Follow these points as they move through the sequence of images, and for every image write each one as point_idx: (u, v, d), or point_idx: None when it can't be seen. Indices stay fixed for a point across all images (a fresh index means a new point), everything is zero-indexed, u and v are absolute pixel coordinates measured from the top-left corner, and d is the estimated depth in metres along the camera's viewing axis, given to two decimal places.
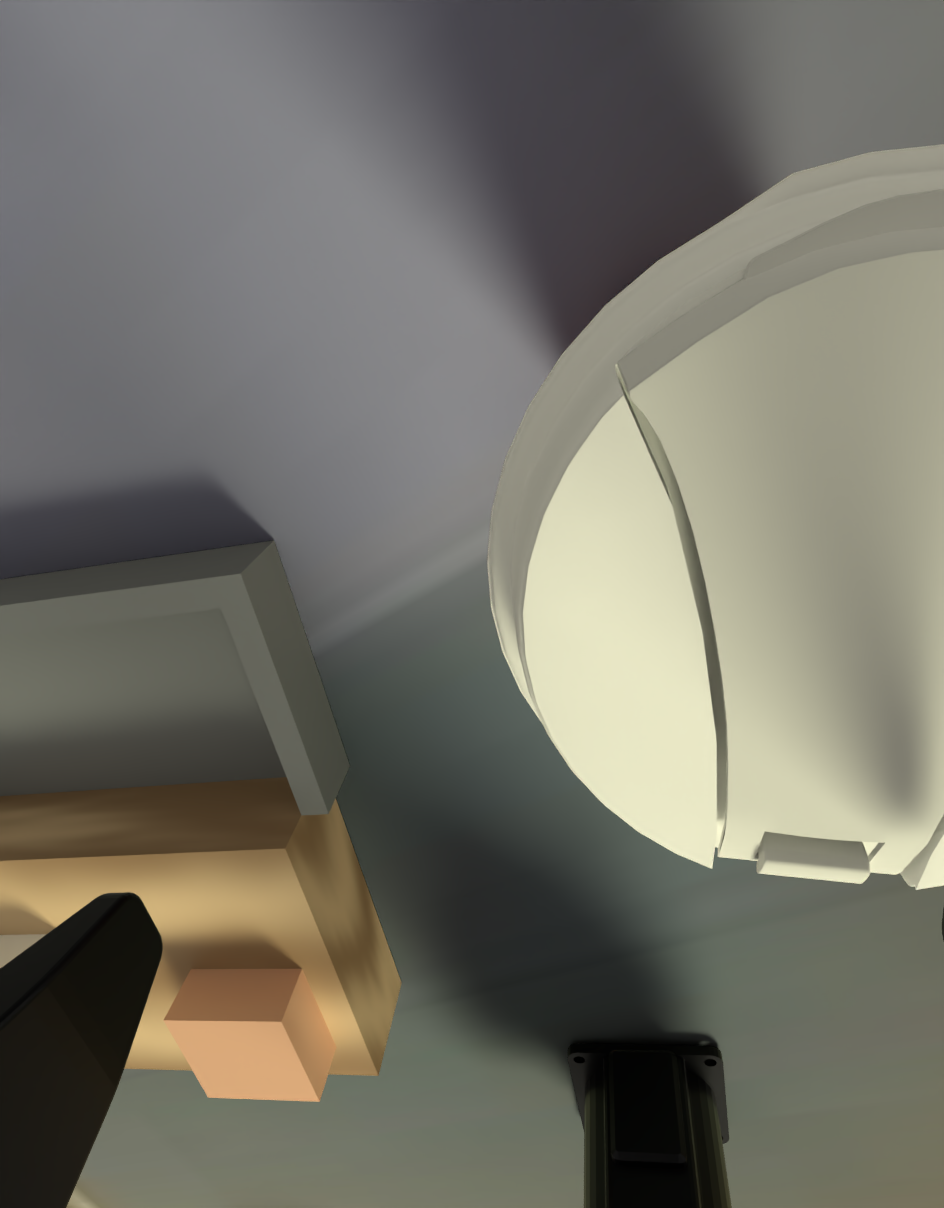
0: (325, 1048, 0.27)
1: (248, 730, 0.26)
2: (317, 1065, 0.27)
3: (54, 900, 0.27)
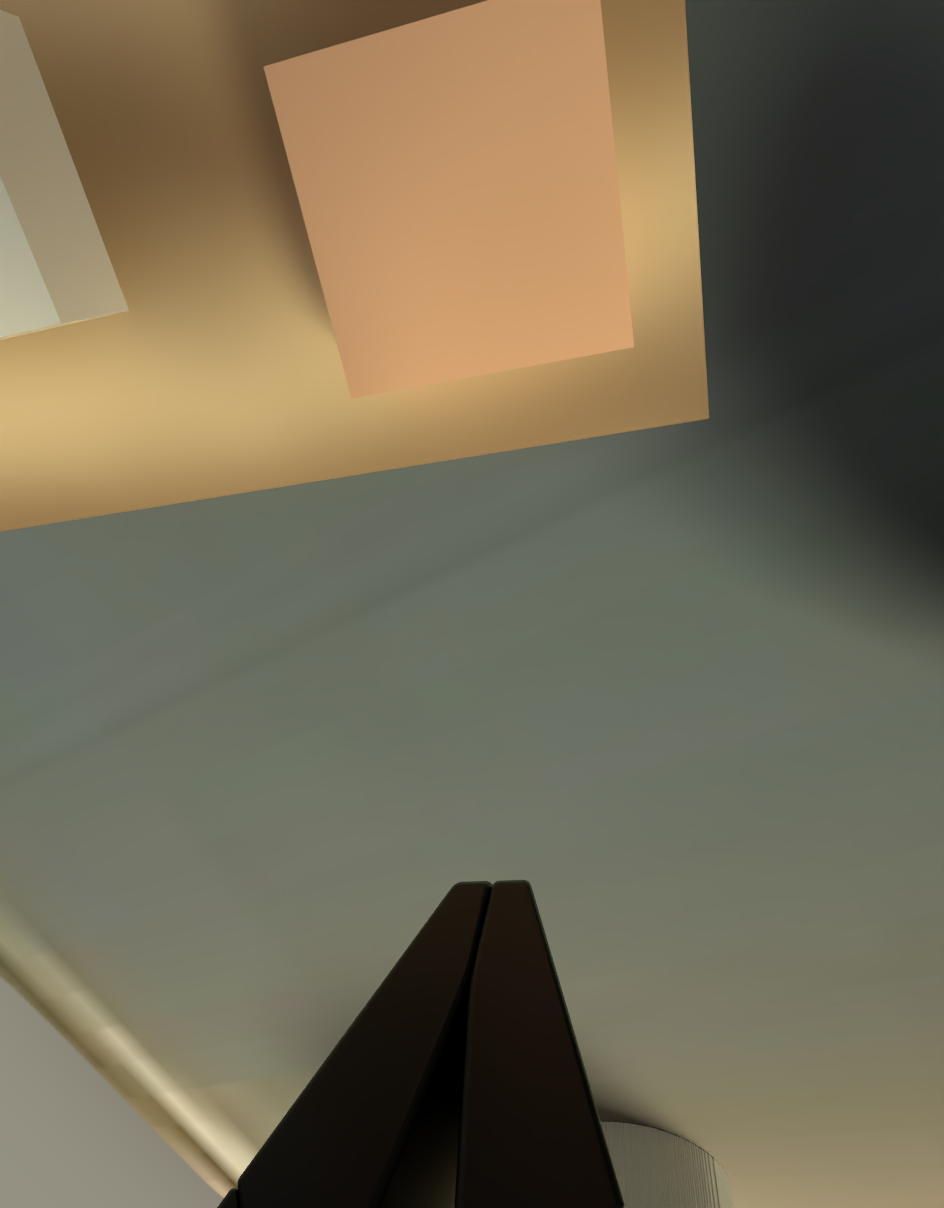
0: None
1: None
2: None
3: None
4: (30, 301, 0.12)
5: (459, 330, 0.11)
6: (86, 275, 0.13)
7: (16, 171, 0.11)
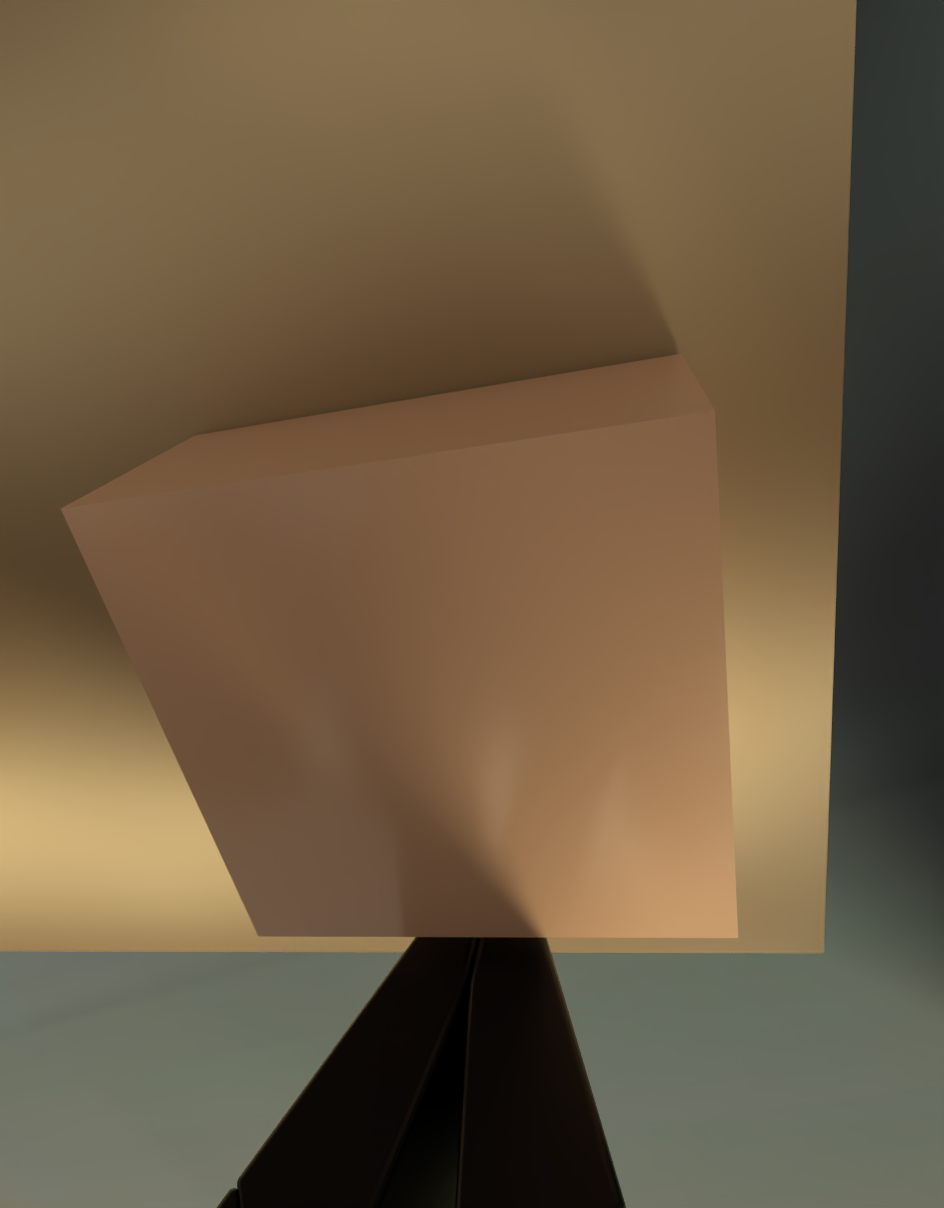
0: None
1: None
2: None
3: None
4: None
5: (433, 882, 0.06)
6: None
7: None
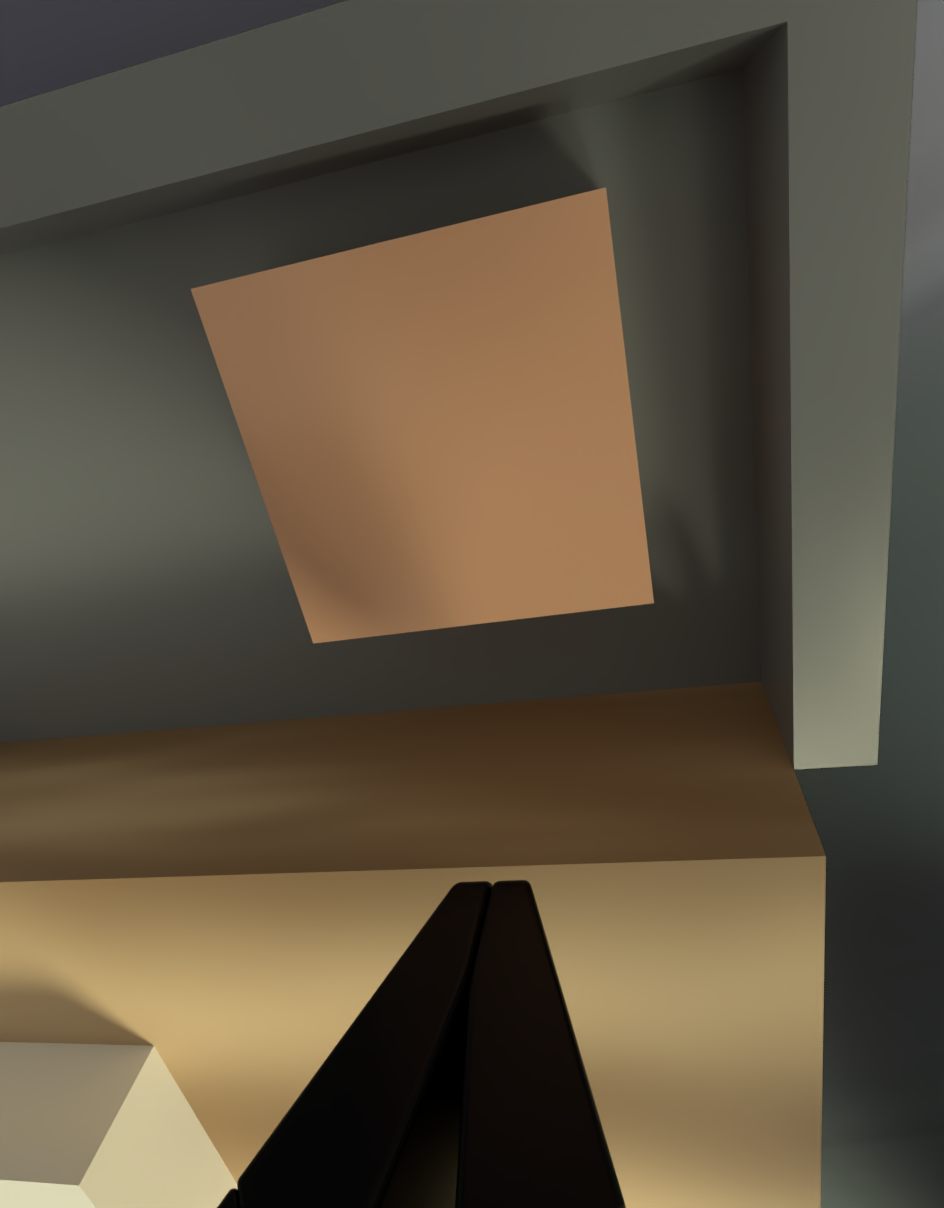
0: None
1: None
2: None
3: (136, 975, 0.11)
4: None
5: None
6: None
7: None
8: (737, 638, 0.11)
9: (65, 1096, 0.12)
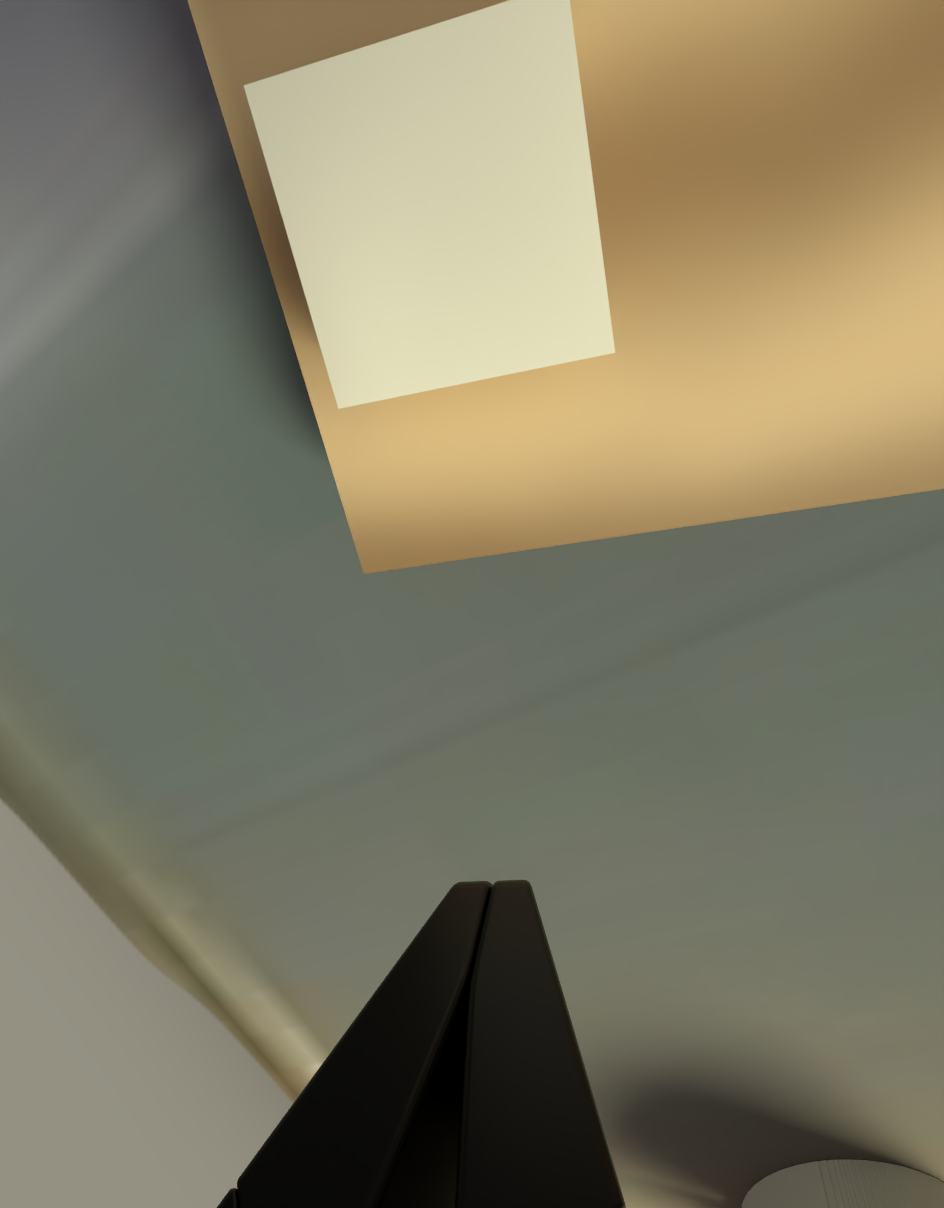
0: None
1: None
2: None
3: None
4: (586, 329, 0.11)
5: None
6: None
7: None
8: None
9: None
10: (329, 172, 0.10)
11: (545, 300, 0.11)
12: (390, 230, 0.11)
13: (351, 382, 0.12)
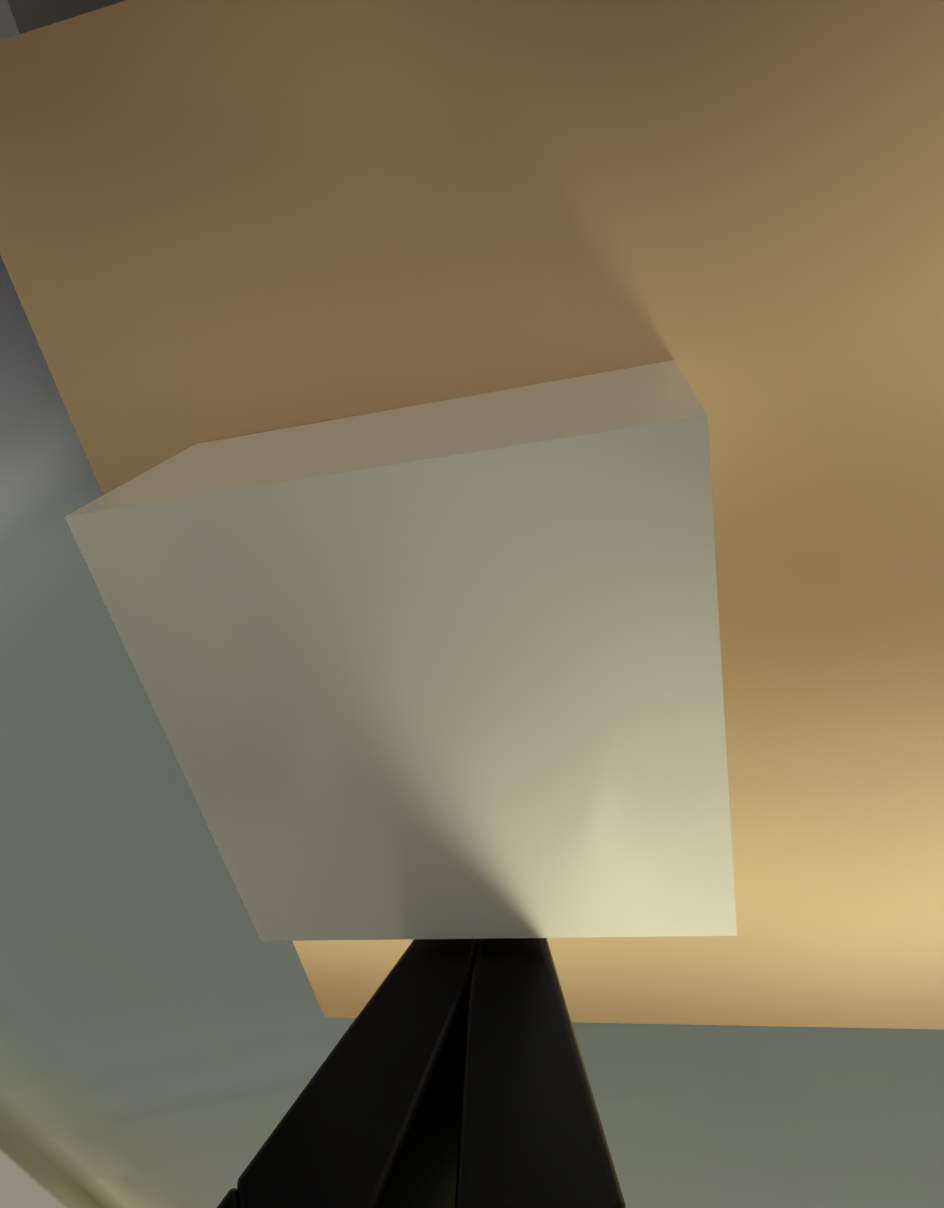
0: None
1: None
2: None
3: (728, 177, 0.05)
4: (688, 903, 0.06)
5: None
6: None
7: None
8: None
9: (538, 403, 0.06)
10: (231, 654, 0.06)
11: (621, 859, 0.06)
12: (344, 741, 0.06)
13: (281, 915, 0.07)
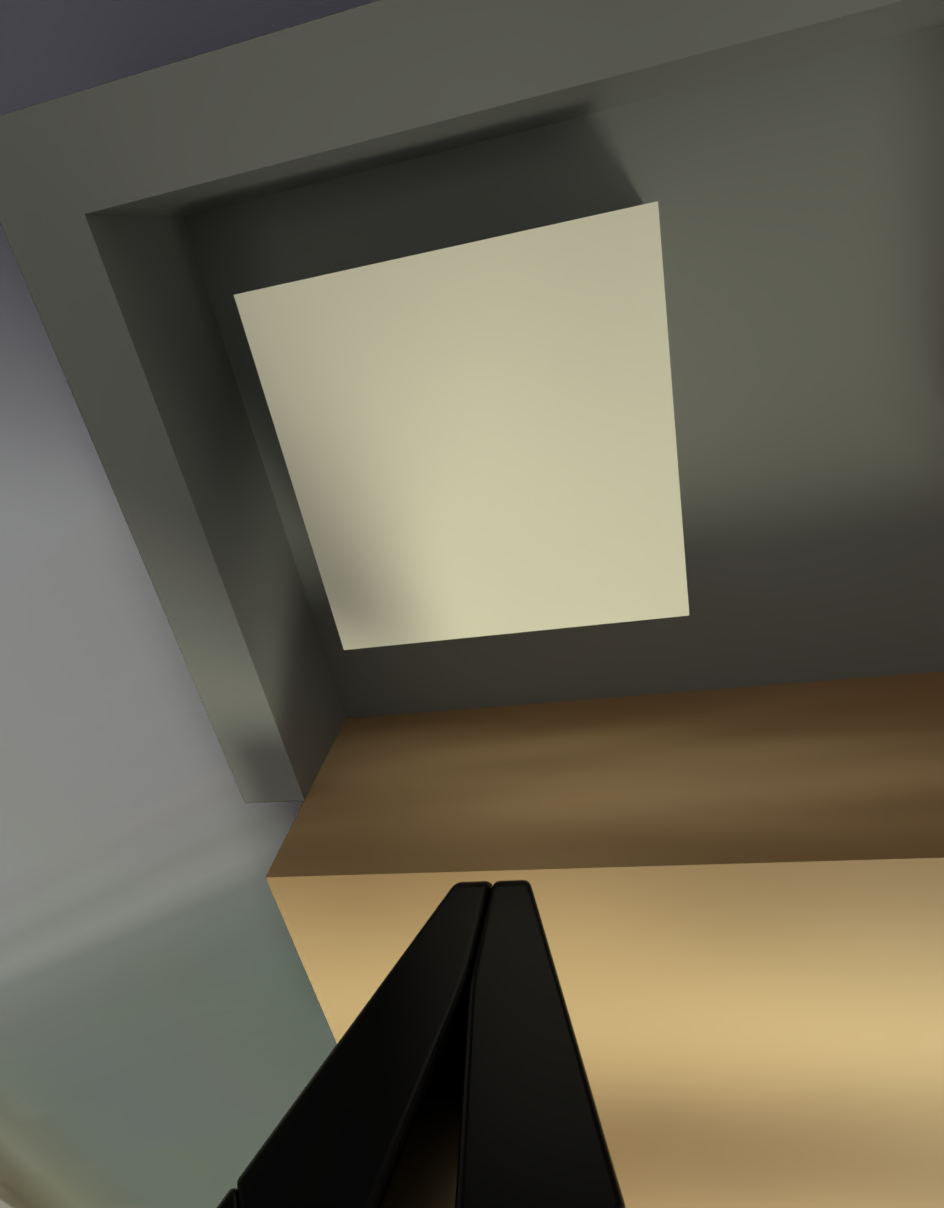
0: None
1: None
2: None
3: (757, 981, 0.09)
4: None
5: None
6: None
7: None
8: None
9: None
10: None
11: None
12: None
13: None
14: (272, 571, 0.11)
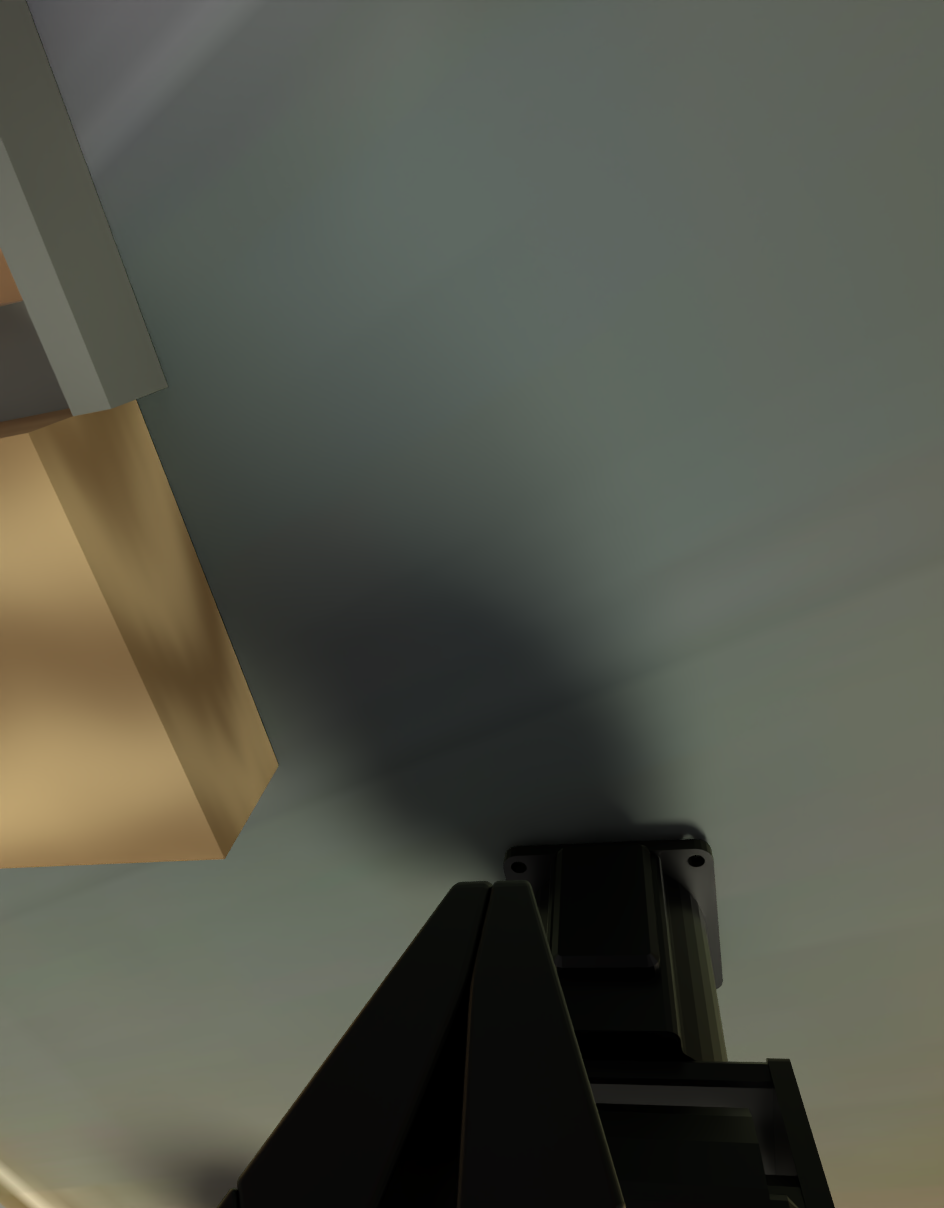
0: None
1: (12, 322, 0.18)
2: None
3: None
4: None
5: None
6: None
7: None
8: None
9: None
10: None
11: None
12: None
13: None
14: None
